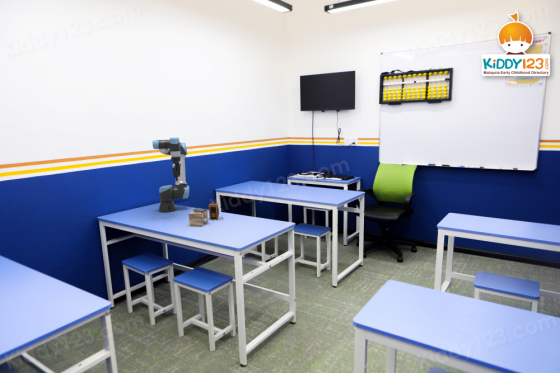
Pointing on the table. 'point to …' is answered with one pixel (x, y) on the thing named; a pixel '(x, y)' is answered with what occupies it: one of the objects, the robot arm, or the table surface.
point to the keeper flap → (198, 209)
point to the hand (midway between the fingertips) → (177, 184)
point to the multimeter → (213, 210)
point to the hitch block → (197, 218)
